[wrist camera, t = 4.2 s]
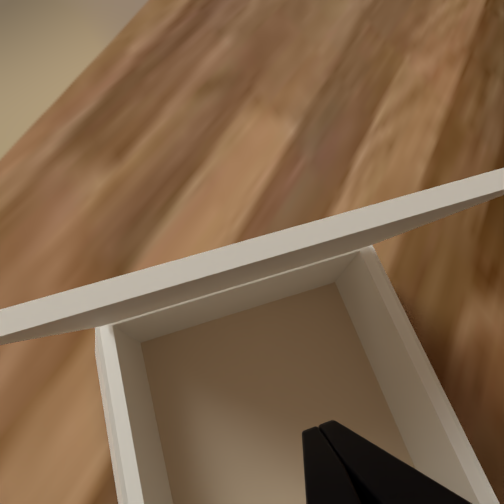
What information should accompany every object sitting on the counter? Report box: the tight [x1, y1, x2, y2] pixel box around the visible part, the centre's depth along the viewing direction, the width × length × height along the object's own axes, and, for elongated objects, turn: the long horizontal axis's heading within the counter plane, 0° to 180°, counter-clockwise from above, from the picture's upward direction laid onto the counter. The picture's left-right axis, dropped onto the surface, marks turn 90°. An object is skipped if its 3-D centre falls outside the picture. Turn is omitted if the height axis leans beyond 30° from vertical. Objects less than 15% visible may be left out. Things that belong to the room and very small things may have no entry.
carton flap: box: [0, 168, 504, 345], centre depth 11 cm, size 1×12×9 cm, turn 108°
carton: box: [95, 245, 499, 504], centre depth 15 cm, size 17×15×5 cm
